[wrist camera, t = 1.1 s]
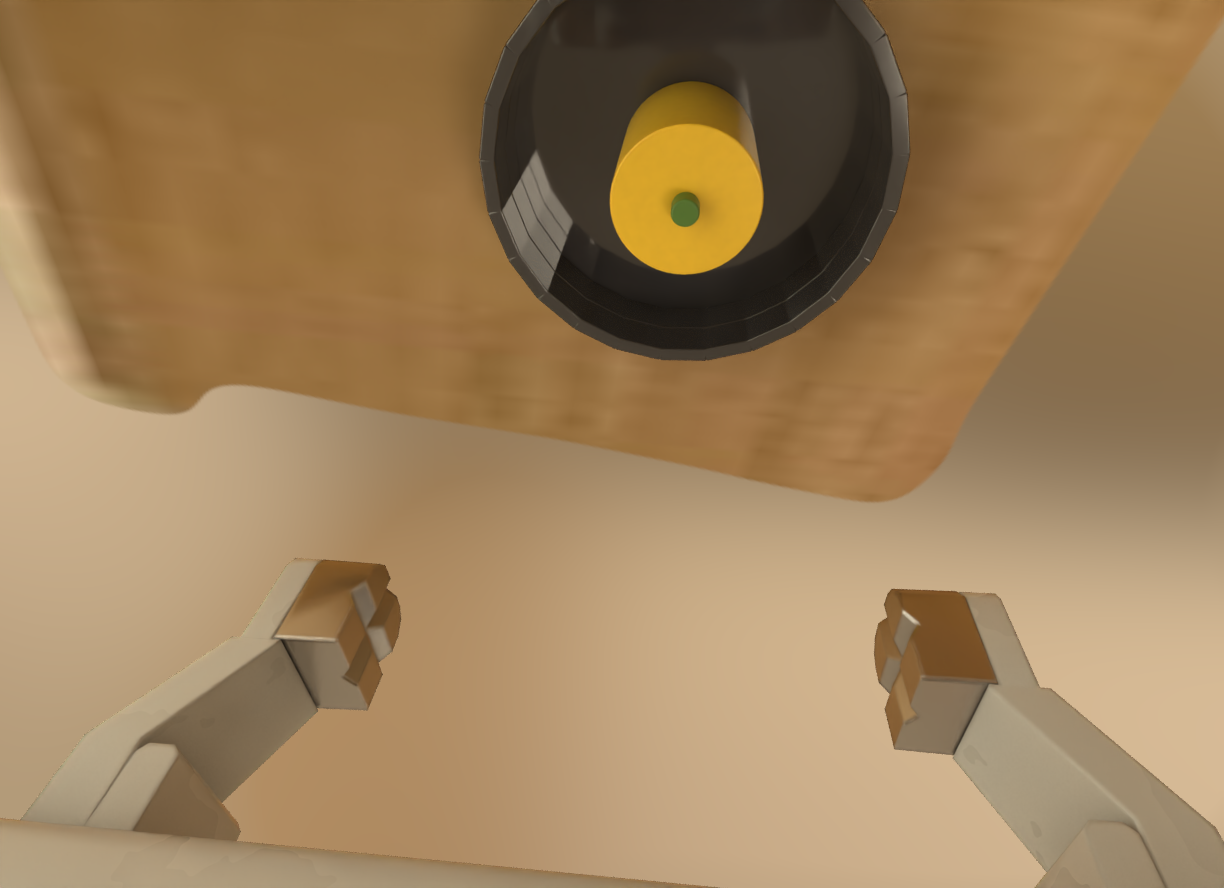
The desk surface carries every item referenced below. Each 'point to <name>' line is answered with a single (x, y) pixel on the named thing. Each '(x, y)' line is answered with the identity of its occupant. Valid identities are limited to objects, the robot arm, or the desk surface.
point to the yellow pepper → (687, 180)
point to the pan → (786, 145)
